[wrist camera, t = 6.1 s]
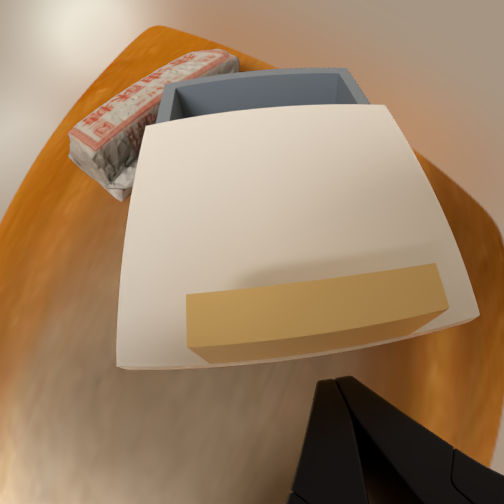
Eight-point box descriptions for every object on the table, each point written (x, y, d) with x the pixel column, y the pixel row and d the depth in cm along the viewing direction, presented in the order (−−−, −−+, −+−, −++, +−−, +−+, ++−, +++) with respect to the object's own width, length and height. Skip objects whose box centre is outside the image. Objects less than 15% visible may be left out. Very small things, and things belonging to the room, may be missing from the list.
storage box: (377, 263, 18) (418, 193, 12) (182, 286, 18) (139, 222, 12) (335, 141, 23) (346, 68, 17) (186, 156, 24) (164, 84, 18)
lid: (468, 322, 9) (523, 287, 6) (126, 370, 9) (70, 349, 6) (381, 116, 14) (394, 64, 11) (150, 137, 14) (130, 85, 11)
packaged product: (97, 166, 18) (49, 128, 21) (124, 209, 22) (72, 163, 26) (265, 51, 24) (192, 35, 27) (267, 91, 28) (199, 70, 32)
